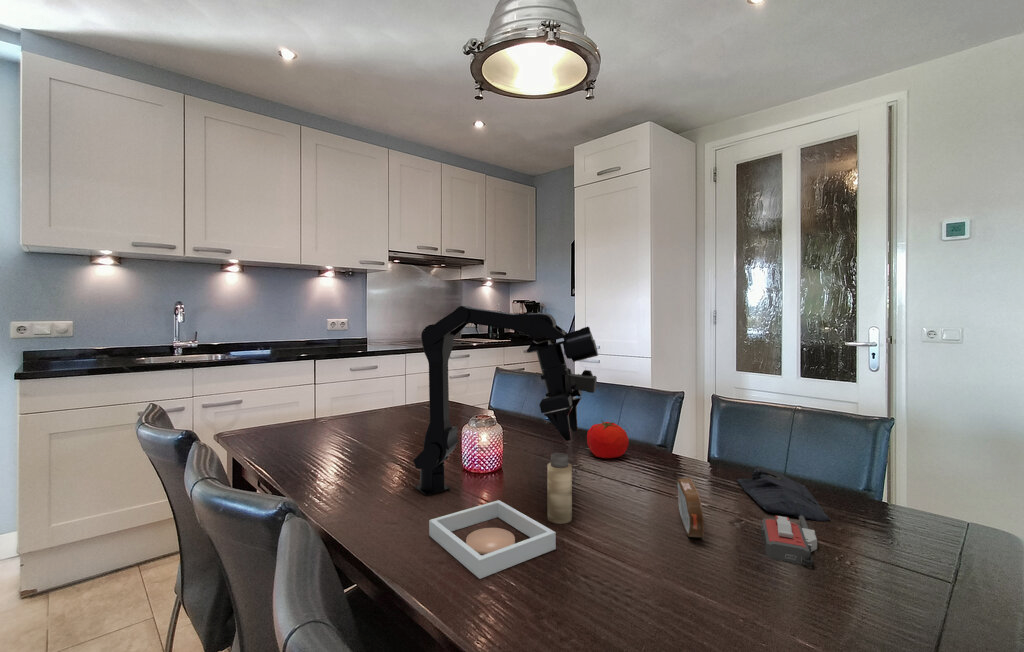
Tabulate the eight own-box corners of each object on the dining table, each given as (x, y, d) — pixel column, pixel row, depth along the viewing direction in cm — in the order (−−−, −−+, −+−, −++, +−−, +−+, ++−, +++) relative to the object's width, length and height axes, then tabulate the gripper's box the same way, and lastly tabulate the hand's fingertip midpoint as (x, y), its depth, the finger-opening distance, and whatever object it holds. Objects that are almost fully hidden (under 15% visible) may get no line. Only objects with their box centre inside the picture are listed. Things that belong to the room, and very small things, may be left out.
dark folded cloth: (752, 517, 97) (752, 494, 97) (734, 480, 118) (735, 462, 118) (837, 526, 93) (837, 503, 93) (803, 487, 114) (803, 468, 114)
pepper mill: (542, 517, 96) (542, 454, 96) (560, 511, 99) (560, 450, 99) (558, 526, 92) (558, 461, 92) (576, 519, 95) (576, 456, 95)
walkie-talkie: (827, 575, 75) (807, 524, 93) (827, 548, 75) (807, 502, 93) (765, 563, 79) (758, 516, 97) (766, 537, 79) (758, 495, 97)
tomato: (594, 448, 145) (594, 415, 145) (634, 455, 138) (634, 421, 138) (578, 457, 136) (578, 422, 136) (619, 465, 129) (619, 428, 129)
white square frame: (429, 535, 88) (429, 520, 88) (498, 514, 98) (498, 500, 98) (479, 578, 74) (479, 560, 74) (555, 548, 83) (555, 532, 83)
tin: (705, 546, 84) (705, 500, 84) (687, 544, 85) (687, 499, 84) (690, 511, 99) (691, 472, 99) (675, 510, 99) (675, 471, 99)
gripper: (582, 361, 93) (603, 437, 92) (593, 355, 111) (611, 419, 110) (530, 374, 96) (550, 448, 95) (549, 367, 114) (566, 429, 113)
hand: (572, 435), depth 103 cm, fingers open, 9 cm apart
